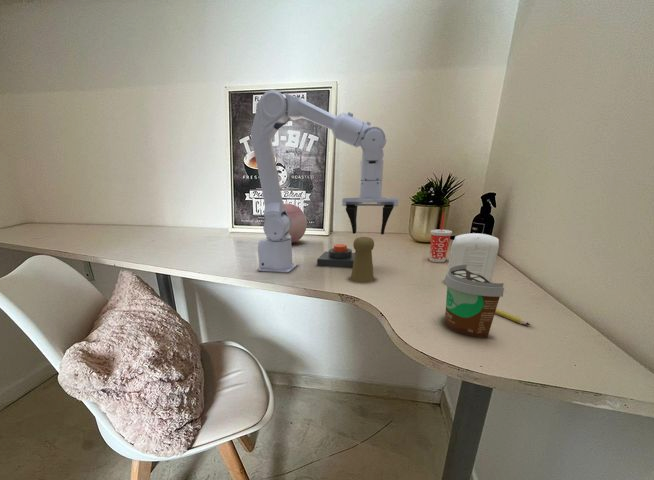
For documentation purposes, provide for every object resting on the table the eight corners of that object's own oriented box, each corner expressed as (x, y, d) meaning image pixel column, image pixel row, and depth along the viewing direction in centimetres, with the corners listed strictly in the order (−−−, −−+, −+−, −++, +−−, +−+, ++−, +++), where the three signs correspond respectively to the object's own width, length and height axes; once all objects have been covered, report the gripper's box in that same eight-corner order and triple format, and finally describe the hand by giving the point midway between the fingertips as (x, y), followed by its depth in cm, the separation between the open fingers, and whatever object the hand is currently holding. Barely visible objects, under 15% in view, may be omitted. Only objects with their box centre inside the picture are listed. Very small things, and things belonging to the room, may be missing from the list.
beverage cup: (426, 262, 102) (432, 214, 96) (427, 257, 107) (433, 212, 102) (447, 263, 100) (454, 215, 94) (448, 258, 105) (455, 212, 100)
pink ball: (314, 243, 131) (314, 203, 125) (281, 249, 123) (279, 206, 117) (294, 238, 142) (292, 201, 136) (262, 242, 134) (259, 203, 128)
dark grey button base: (317, 266, 101) (317, 253, 99) (325, 258, 110) (325, 245, 108) (356, 268, 98) (357, 254, 96) (361, 259, 106) (362, 247, 105)
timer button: (332, 252, 101) (332, 246, 100) (335, 249, 104) (335, 244, 104) (345, 253, 100) (345, 247, 99) (347, 250, 103) (347, 244, 103)
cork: (373, 283, 85) (375, 240, 80) (349, 282, 86) (350, 239, 82) (374, 276, 90) (376, 235, 86) (351, 275, 91) (353, 235, 87)
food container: (427, 313, 67) (433, 265, 63) (456, 312, 67) (465, 263, 63) (457, 342, 56) (467, 286, 52) (492, 340, 56) (505, 284, 52)
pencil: (528, 327, 60) (529, 322, 60) (466, 302, 72) (466, 298, 72) (531, 326, 61) (533, 321, 60) (469, 301, 72) (470, 297, 72)
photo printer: (489, 282, 83) (499, 232, 78) (492, 288, 80) (503, 236, 75) (445, 279, 86) (452, 231, 81) (446, 285, 82) (453, 234, 77)
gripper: (340, 181, 85) (339, 235, 90) (399, 180, 81) (394, 237, 86) (345, 180, 91) (344, 230, 96) (400, 179, 87) (396, 232, 92)
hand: (368, 233), depth 92 cm, fingers open, 7 cm apart
